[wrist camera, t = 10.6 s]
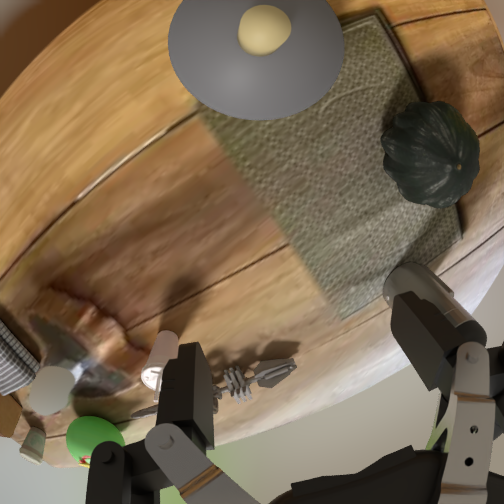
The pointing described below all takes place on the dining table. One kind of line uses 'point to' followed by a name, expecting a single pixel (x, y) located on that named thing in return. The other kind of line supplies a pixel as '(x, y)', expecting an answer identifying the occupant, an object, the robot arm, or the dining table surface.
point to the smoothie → (159, 360)
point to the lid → (256, 54)
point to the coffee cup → (33, 446)
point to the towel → (14, 363)
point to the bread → (8, 415)
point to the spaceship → (241, 383)
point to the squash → (431, 154)
